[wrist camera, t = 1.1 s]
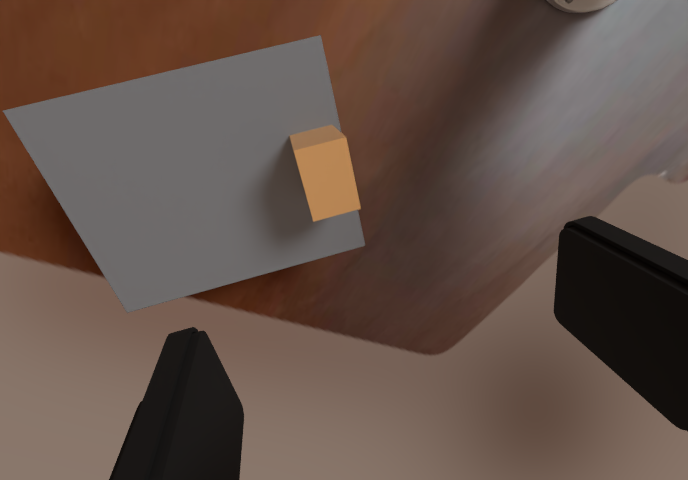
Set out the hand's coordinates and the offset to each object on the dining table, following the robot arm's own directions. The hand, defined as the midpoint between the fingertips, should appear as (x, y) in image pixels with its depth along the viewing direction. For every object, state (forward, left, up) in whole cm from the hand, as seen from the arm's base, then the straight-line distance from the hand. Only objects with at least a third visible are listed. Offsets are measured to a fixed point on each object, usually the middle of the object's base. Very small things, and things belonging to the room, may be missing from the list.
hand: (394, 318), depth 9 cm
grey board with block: (+7, 0, -20) cm, 22 cm away
